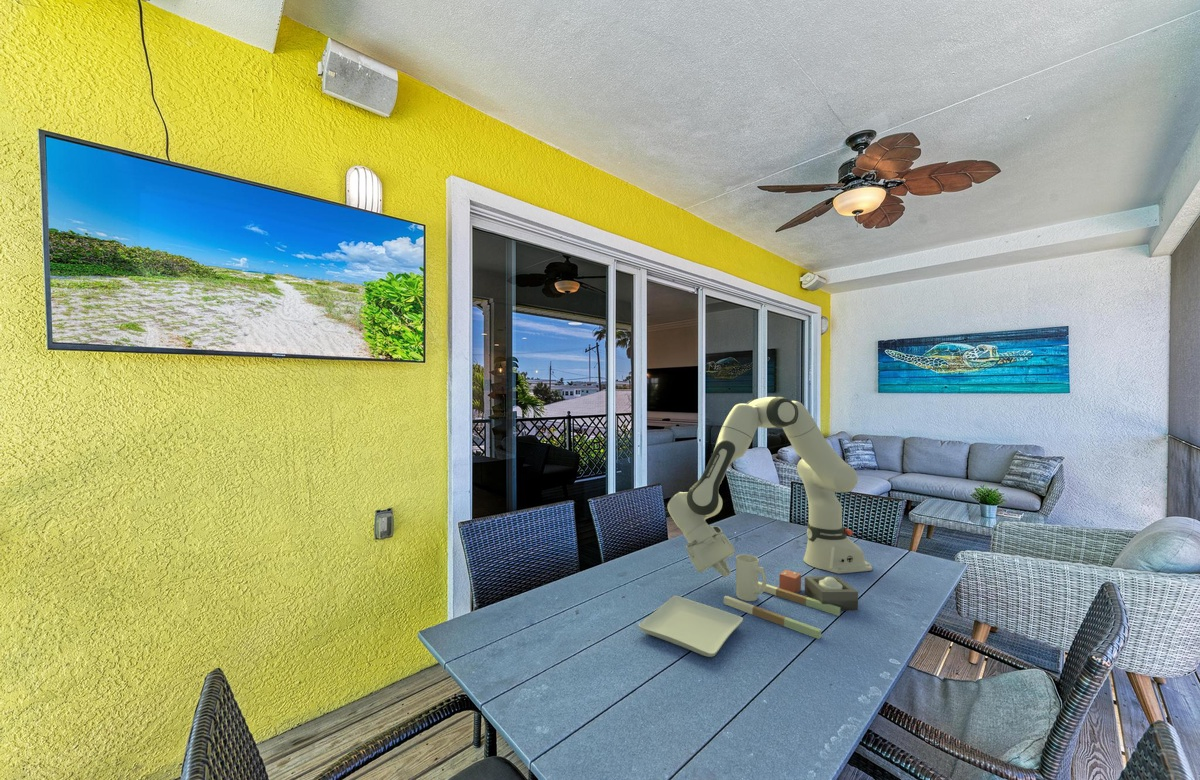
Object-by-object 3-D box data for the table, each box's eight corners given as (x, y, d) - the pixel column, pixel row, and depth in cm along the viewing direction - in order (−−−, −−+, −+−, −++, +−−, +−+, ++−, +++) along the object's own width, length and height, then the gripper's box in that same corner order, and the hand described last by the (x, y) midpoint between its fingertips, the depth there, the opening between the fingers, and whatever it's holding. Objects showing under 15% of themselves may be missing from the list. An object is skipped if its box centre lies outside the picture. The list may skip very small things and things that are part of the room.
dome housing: (837, 593, 142) (838, 576, 142) (857, 610, 131) (858, 591, 131) (804, 594, 141) (804, 576, 141) (822, 610, 131) (822, 591, 131)
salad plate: (714, 668, 104) (714, 653, 104) (636, 637, 117) (636, 624, 117) (745, 629, 121) (745, 616, 121) (674, 605, 134) (674, 594, 134)
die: (779, 589, 145) (779, 572, 144) (785, 584, 148) (785, 568, 148) (795, 594, 141) (795, 577, 141) (801, 589, 145) (801, 572, 145)
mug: (730, 595, 140) (731, 557, 140) (744, 589, 144) (744, 552, 144) (758, 608, 132) (759, 567, 132) (772, 602, 136) (772, 562, 136)
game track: (723, 603, 135) (723, 597, 135) (750, 585, 148) (750, 579, 148) (819, 639, 116) (819, 631, 116) (840, 614, 129) (840, 607, 129)
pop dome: (835, 587, 140) (835, 572, 140) (846, 596, 133) (847, 581, 133) (814, 587, 139) (814, 572, 139) (825, 596, 133) (825, 581, 133)
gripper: (690, 540, 141) (717, 580, 134) (722, 525, 156) (748, 561, 149) (678, 550, 144) (704, 590, 137) (710, 535, 159) (736, 571, 152)
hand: (727, 575), depth 143 cm, fingers closed
